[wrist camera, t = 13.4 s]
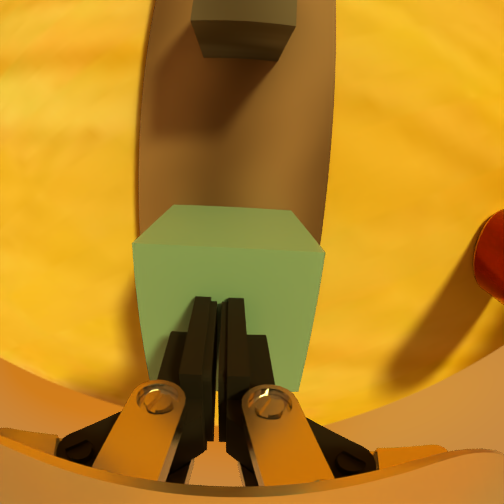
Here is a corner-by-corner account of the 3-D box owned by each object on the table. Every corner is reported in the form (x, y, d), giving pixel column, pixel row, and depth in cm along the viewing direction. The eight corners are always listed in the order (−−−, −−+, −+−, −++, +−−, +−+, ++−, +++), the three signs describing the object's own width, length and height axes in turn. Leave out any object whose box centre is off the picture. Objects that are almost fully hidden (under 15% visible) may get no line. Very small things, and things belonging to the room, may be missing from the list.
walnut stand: (329, -10, 12) (365, -60, 6) (302, 321, 20) (325, 385, 14) (166, -20, 12) (141, -74, 6) (152, 315, 19) (125, 378, 13)
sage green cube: (291, 210, 16) (325, 252, 9) (279, 312, 18) (298, 391, 12) (173, 204, 15) (132, 243, 9) (176, 308, 17) (150, 384, 11)
